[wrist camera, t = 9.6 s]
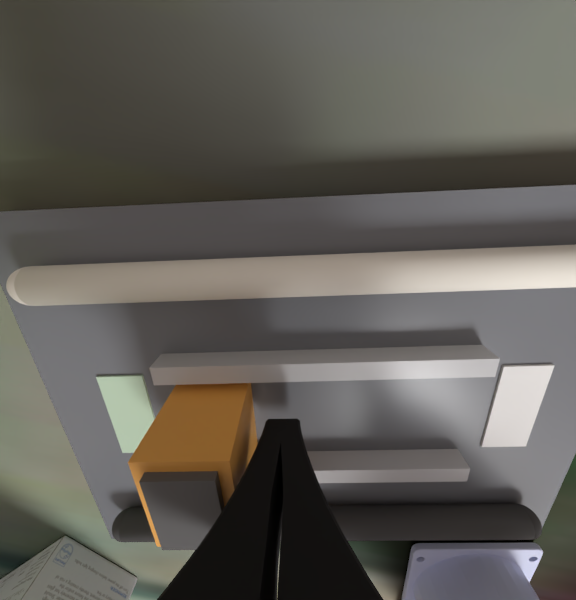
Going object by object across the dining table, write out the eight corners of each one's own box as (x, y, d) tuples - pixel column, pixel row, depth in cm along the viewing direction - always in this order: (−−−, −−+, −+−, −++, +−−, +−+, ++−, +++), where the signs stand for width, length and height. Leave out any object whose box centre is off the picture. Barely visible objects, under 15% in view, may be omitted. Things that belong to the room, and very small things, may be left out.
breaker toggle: (258, 445, 13) (241, 556, 9) (195, 446, 13) (152, 557, 9) (250, 375, 12) (227, 470, 8) (180, 377, 12) (121, 472, 8)
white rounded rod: (616, 278, 10) (666, 290, 9) (40, 298, 11) (3, 313, 9) (632, 238, 9) (687, 245, 8) (25, 262, 10) (-14, 272, 9)
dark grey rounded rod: (522, 514, 14) (545, 546, 13) (125, 518, 15) (109, 548, 14) (529, 496, 14) (554, 528, 13) (119, 501, 15) (102, 530, 13)
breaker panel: (517, 507, 16) (554, 558, 14) (126, 510, 17) (100, 559, 15) (642, 181, 10) (747, 177, 8) (11, 210, 11) (-67, 215, 9)
